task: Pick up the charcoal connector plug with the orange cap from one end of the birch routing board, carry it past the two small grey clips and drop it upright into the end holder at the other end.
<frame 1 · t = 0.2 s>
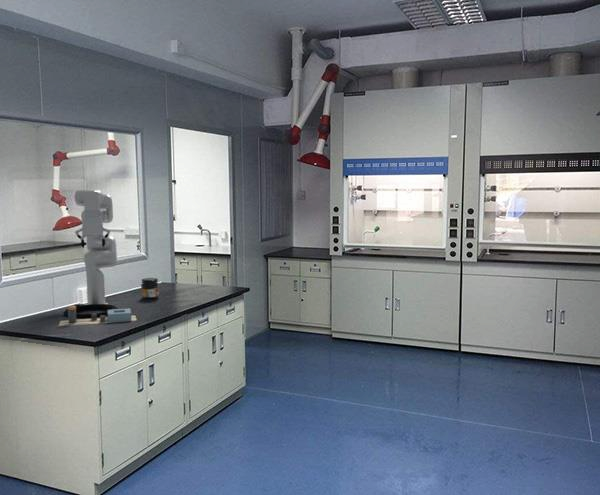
hand: (93, 247, 289), 36 cm above the worktop, tool pointing down, fingers open, 9 cm apart
cable lock: (90, 315, 296), on the worktop
route board: (98, 323, 277), on the worktop
end holder: (119, 319, 280), resting on route board
supplement container: (150, 298, 339), on the worktop
connector plug: (72, 322, 272), point 1 cm above the worktop, touching route board
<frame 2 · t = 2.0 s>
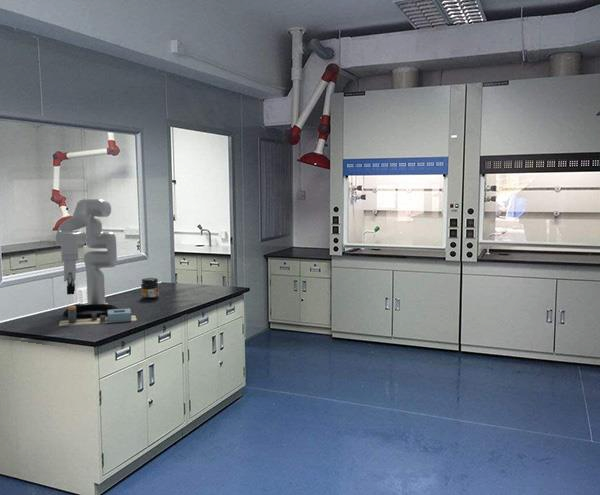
hand: (71, 292, 270), 16 cm above the worktop, tool pointing down, fingers open, 9 cm apart
nothing on the worktop moved.
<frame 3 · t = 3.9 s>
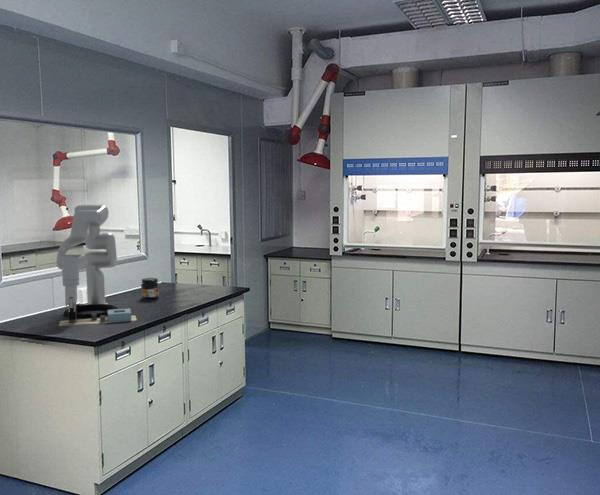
hand: (72, 318, 272), 3 cm above the worktop, tool pointing down, fingers closed on connector plug, 3 cm apart
connector plug: (72, 322, 272), point 1 cm above the worktop, touching gripper, route board
everything else where it was.
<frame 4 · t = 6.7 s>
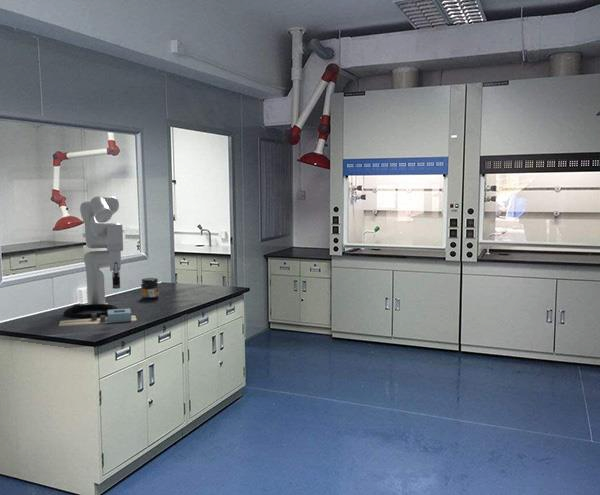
hand: (116, 283, 278), 19 cm above the worktop, tool pointing down, fingers closed on connector plug, 3 cm apart
connector plug: (116, 288, 278), point 17 cm above the worktop, touching gripper
everything else where it was.
when the fingers open (6 cm above the worktop, at t = 9.6 s): connector plug drops 3 cm, resting on route board.
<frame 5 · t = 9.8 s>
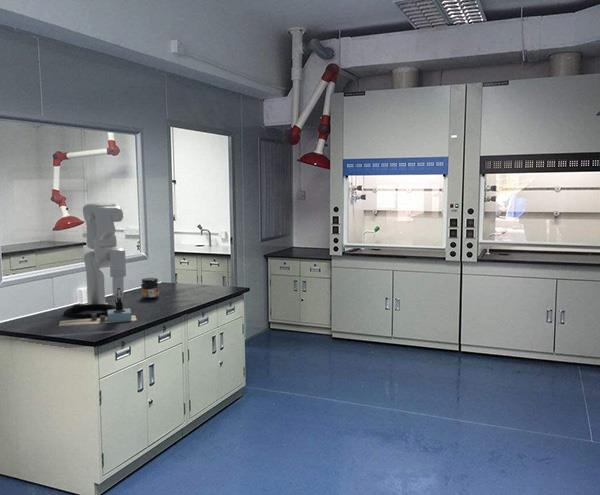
hand: (119, 308, 279), 7 cm above the worktop, tool pointing down, fingers open, 5 cm apart
connector plug: (119, 318, 280), point 1 cm above the worktop, touching route board
everything else where it was.
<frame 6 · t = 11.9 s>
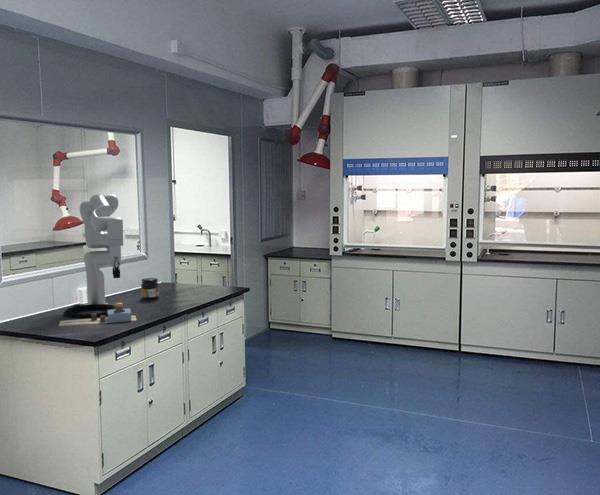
hand: (116, 276, 278), 23 cm above the worktop, tool pointing down, fingers open, 9 cm apart
nothing on the worktop moved.
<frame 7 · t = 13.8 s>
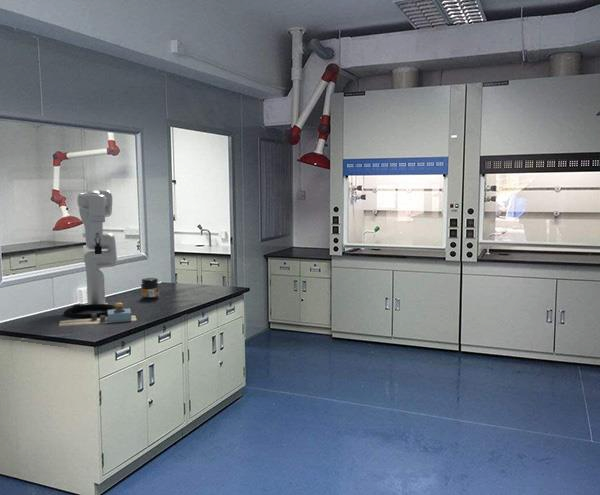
hand: (98, 252, 282), 34 cm above the worktop, tool pointing down, fingers open, 9 cm apart
nothing on the worktop moved.
at the end: connector plug 0.1 cm off-centre on the end holder, point 0.0 cm above the end holder's base; connector plug tilted 1°; the gripper is holding nothing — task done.
